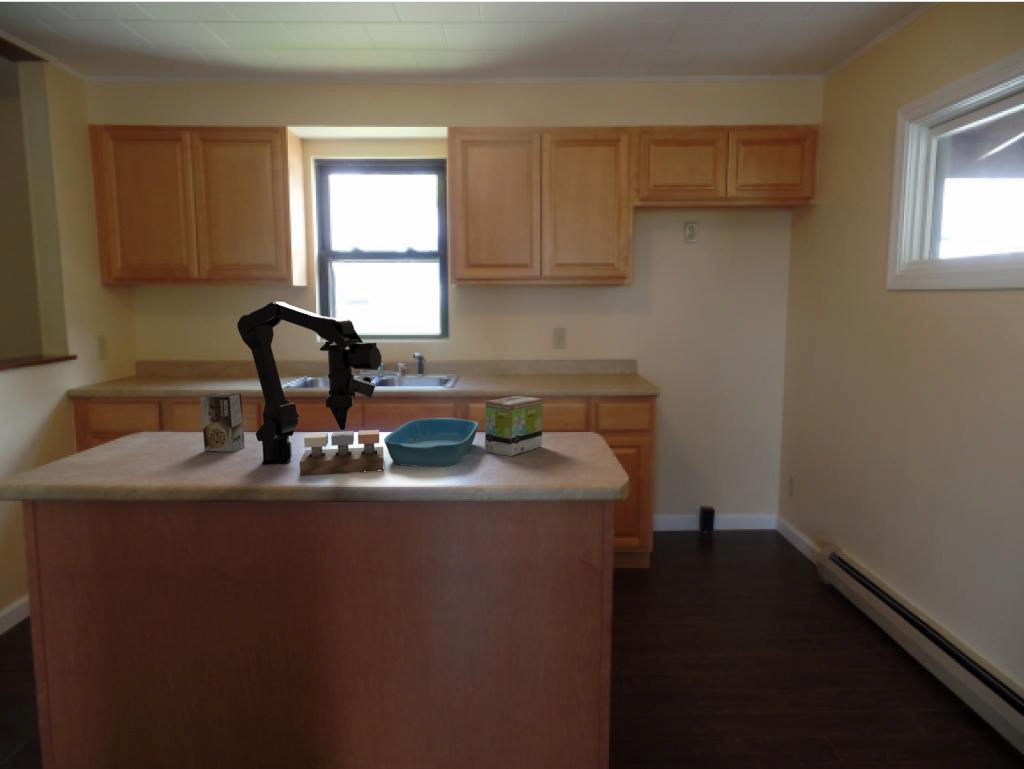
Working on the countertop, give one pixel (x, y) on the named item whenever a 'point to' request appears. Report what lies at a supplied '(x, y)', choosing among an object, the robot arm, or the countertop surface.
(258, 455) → the countertop surface
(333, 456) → the key block
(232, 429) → the coffee box
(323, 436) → the cream key
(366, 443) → the terracotta key
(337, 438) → the slate key
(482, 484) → the countertop surface
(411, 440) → the casserole dish
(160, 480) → the countertop surface
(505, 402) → the tea box
